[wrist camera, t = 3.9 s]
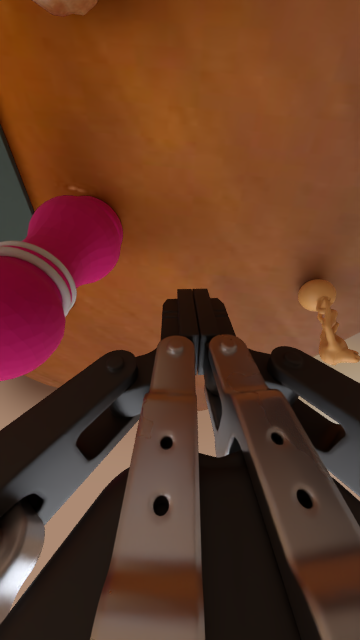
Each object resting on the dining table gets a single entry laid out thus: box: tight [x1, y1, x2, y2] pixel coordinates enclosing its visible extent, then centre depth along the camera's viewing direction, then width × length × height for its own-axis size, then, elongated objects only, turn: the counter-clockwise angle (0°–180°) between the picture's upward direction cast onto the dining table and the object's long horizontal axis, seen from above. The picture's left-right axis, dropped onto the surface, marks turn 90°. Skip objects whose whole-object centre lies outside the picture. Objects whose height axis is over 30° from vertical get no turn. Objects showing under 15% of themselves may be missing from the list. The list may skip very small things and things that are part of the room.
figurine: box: [298, 279, 360, 365], centre depth 23 cm, size 8×6×12 cm
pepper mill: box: [0, 195, 123, 381], centre depth 14 cm, size 7×7×20 cm
